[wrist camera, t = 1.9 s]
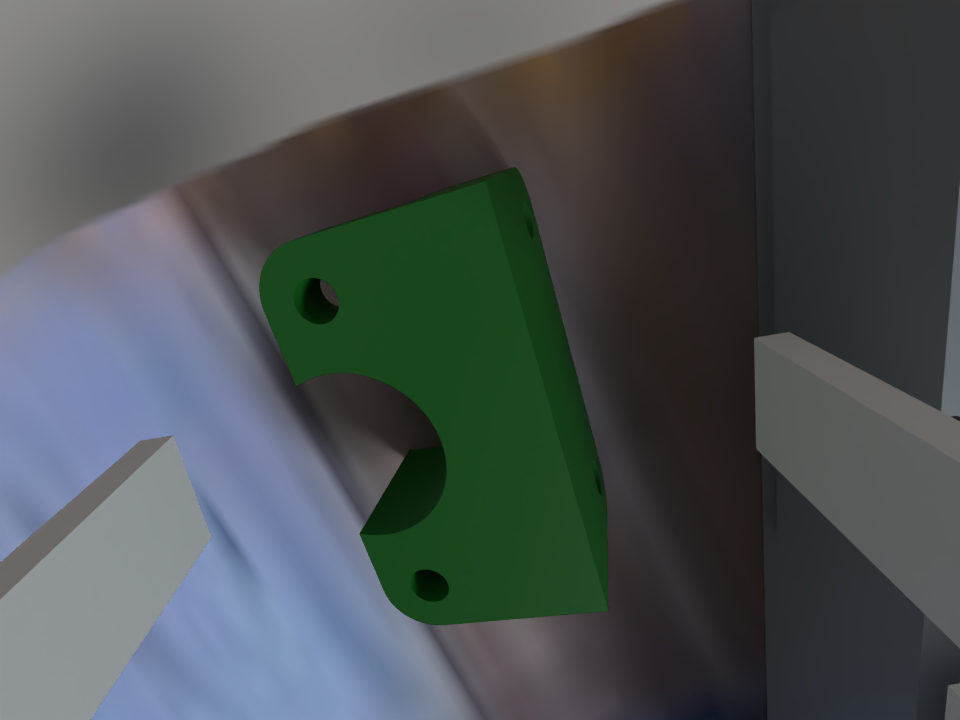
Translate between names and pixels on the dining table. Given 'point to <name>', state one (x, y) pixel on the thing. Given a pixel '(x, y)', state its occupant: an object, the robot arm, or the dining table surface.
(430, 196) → the clamp
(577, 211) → the dining table surface
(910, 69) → the housing
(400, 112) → the dining table surface
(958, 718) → the lid
